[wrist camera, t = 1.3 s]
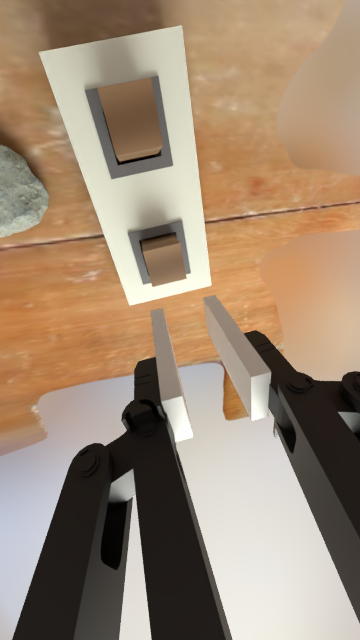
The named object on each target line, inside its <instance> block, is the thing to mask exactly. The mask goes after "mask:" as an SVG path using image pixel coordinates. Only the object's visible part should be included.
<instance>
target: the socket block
mask: <svg viewBox="0 0 360 640" xmlns="http://www.w3.org/2000/svg"><path fill="white" fill-rule="evenodd" d="M39 55H40V57H41V60H42V63H43V66H44V68H45V71H46V74H47V77H48V80H49V82H50V85H51V88H52V91H53V94H54V96H55V99H56V102H57V105H58V107H59V110H60V113H61V116H62V119H63V121H64V124H65V127H66V130H67V133H68V135H69V138H70V141H71V144H72V146H73V149H74V152H75V155H76V158H77V160H78V163H79V166H80V169H81V172H82V174H83V177H84V180H85V183H86V185H87V188H88V191H89V194H90V197H91V199H92V202H93V205H94V208H95V211H96V213H97V216H98V219H99V222H100V224H101V227H102V230H103V233H104V236H105V238H106V241H107V244H108V247H109V250H110V252H111V255H112V258H113V261H114V263H115V266H116V269H117V272H118V275H119V277H120V280H121V283H122V286H123V289H124V291H125V294H126V297H127V300H128V302H129V305H130V306H131V305H135V304H139V303H143V302H147V301H151V300H155V299H159V298H163V297H167V296H171V295H175V294H179V293H183V292H187V291H191V290H195V289H199V288H203V287H207V286H211V277H210V268H209V260H208V251H207V242H206V233H205V224H204V216H203V207H202V198H201V189H200V180H199V172H198V163H197V154H196V145H195V136H194V128H193V119H192V110H191V101H190V92H189V84H188V75H187V66H186V57H185V48H184V40H183V31H182V25H180V26H175V27H170V28H164V29H159V30H154V31H149V32H143V33H138V34H133V35H127V36H122V37H117V38H111V39H106V40H101V41H95V42H90V43H85V44H79V45H74V46H69V47H63V48H58V49H53V50H47V51H42V52H39ZM150 77H151V81H152V86H153V92H154V97H155V103H156V109H157V114H158V120H159V126H160V131H161V137H162V142H163V147H162V148H161V150H160V151H159V153H158V154H157V155H156V157H155V158H151V159H146V160H141V161H137V162H132V163H127V164H123V165H120V163H119V160H118V158H117V157H116V154H115V150H114V147H113V143H112V140H111V136H110V132H109V129H108V125H107V122H106V118H105V114H104V111H103V107H102V104H101V100H100V96H99V93H98V89H97V88H99V87H104V86H109V85H114V84H119V83H124V82H130V81H135V80H140V79H145V78H150ZM168 233H173V234H174V236H175V237H176V238H177V239H178V241H179V242H180V243H181V249H182V255H183V260H184V266H185V271H186V277H187V279H184V280H180V281H175V282H171V283H167V284H163V285H159V286H155V287H152V284H151V280H150V276H149V273H148V269H147V266H146V262H145V258H144V255H143V250H142V244H141V240H142V239H146V238H151V237H155V236H159V235H163V234H168Z"/></svg>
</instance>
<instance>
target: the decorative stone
mask: <svg viewBox="0 0 360 640" xmlns="http://www.w3.org/2000/svg"><path fill="white" fill-rule="evenodd" d="M48 206H49V196H48V191H47V190H46V188H45V187H44V186H43V184H42V183H41V182H40V180H39V179H38V178H36V177H35V176H34V175H33V173H32V172H31V170H30V168H29V167H28V165H27V163H26V160H25V159H24V158H23V157H22V156H20V155H19V154H17V153H16V152H14V151H13V150H12V149H10V148H9V147H6V146H3V145H0V238H1V237H7V236H9V235H12V234H13V233H19V232H22V231H25V230H27V229H28V228H30V227H33V226H35V225H37V224H38V223H40V221H41V219H42V217H43V216H44V214H45V211H46V209H47V208H48Z"/></svg>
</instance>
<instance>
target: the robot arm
mask: <svg viewBox="0 0 360 640" xmlns="http://www.w3.org/2000/svg"><path fill="white" fill-rule="evenodd" d="M203 301H204V308H205V315H206V322H207V329H208V334H209V336H210V338H211V340H212V342H213V344H214V346H215V348H216V350H217V352H218V354H219V356H220V358H221V360H222V362H223V364H224V366H225V368H226V370H227V372H228V375H229V377H230V379H231V381H232V383H233V385H234V387H235V389H236V391H237V393H238V395H239V397H240V399H241V401H242V403H243V405H244V407H245V409H246V411H247V413H248V415H249V417H250V419H251V421H253V420H257V419H260V418H264V417H267V416H268V415H269V409H270V411H271V413H272V414H273V416H274V418H275V419H274V431H273V433H274V437H275V438H276V437H277V434H278V435H279V437H280V439H281V442H282V444H283V446H284V448H285V451H286V453H287V456H288V458H289V460H290V463H291V465H292V467H293V470H294V472H295V474H296V477H297V479H298V481H299V483H300V486H301V488H302V490H303V493H304V495H305V497H306V499H307V502H308V504H309V507H310V509H311V511H312V513H313V516H314V518H315V521H316V523H317V525H318V527H319V530H320V532H321V535H322V537H323V539H324V541H325V544H326V546H327V548H328V551H329V553H330V555H331V558H332V560H333V562H334V564H335V567H336V569H337V572H338V574H339V576H340V579H341V581H342V583H343V585H344V588H345V590H346V592H347V595H348V597H349V599H350V602H351V604H352V606H353V609H354V611H355V613H356V616H357V618H358V620H359V623H360V372H356V371H354V372H349V373H347V374H345V375H344V376H343V378H342V381H317V380H313V379H312V378H311V377H310V376H308V375H306V374H304V373H300V372H297V371H296V370H295V369H294V368H293V367H292V366H291V365H290V363H289V362H288V361H287V360H286V359H285V358H284V356H283V355H282V354H281V353H280V352H279V351H278V350H277V349H276V347H275V346H274V345H273V344H272V343H271V342H270V340H269V339H268V338H267V337H266V336H265V335H264V334H262V333H260V332H258V331H256V330H255V331H251V332H247V333H243V332H242V331H241V330H240V328H239V327H238V326H237V324H236V323H235V322H234V320H233V319H232V317H231V316H230V315H229V313H228V312H227V311H226V309H225V308H224V306H223V305H222V304H221V302H220V301H219V300H218V298H217V297H216V296H215V295H213V296H209V297H205V298H203ZM151 319H152V328H153V337H154V345H155V354H156V357H153V358H150V359H146V360H142V361H139V362H138V364H137V366H136V368H135V370H134V379H135V380H134V386H135V388H134V400H133V401H131V402H130V403H129V404H128V405H127V406H126V408H125V410H124V411H123V413H122V420H121V421H122V422H123V424H124V426H125V428H126V429H127V431H126V432H125V433H124V434H123V435H122V436H120V437H119V438H117V439H116V440H114V441H113V442H111V443H110V444H108V445H106V446H104V445H103V444H100V443H93V444H91V445H88V446H86V447H85V448H83V449H82V450H81V451H79V453H78V454H77V455H76V456H75V457H74V459H73V460H72V462H71V465H70V467H69V469H68V472H67V475H66V478H65V481H64V484H63V488H62V490H61V494H60V497H59V500H58V503H57V506H56V509H55V512H54V515H53V518H52V521H51V524H50V527H49V530H48V533H47V536H46V539H45V542H44V545H43V548H42V551H41V554H40V557H39V560H38V563H37V566H36V569H35V572H34V575H33V578H32V582H31V585H30V587H29V590H28V593H27V596H26V599H25V603H24V605H23V609H22V611H21V614H20V618H19V621H18V624H17V627H16V630H15V633H14V636H13V639H12V640H119V633H120V623H121V613H122V603H123V592H124V582H125V572H126V562H127V551H128V541H129V530H130V521H131V511H132V500H133V496H134V495H136V500H137V509H138V519H139V528H140V537H141V546H142V556H143V565H144V574H145V582H146V592H147V601H148V610H149V619H150V629H151V638H152V640H232V637H231V633H230V630H229V626H228V623H227V620H226V616H225V613H224V609H223V606H222V602H221V599H220V595H219V592H218V589H217V585H216V582H215V578H214V575H213V571H212V568H211V565H210V561H209V558H208V554H207V551H206V547H205V544H204V541H203V537H202V533H201V530H200V527H199V523H198V520H197V516H196V513H195V509H194V506H193V502H192V500H191V496H190V492H189V489H188V486H187V482H186V478H185V475H184V472H183V468H182V465H181V462H180V458H179V455H178V452H177V449H176V443H175V440H176V442H178V441H181V440H185V439H189V438H192V437H193V433H192V428H191V423H190V419H189V415H188V410H187V406H186V402H185V397H184V393H183V389H182V384H181V380H180V376H179V371H178V367H177V363H176V358H175V354H174V350H173V345H172V341H171V337H170V334H169V330H168V326H167V322H166V318H165V315H164V311H163V308H161V309H157V310H153V311H151Z"/></svg>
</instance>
